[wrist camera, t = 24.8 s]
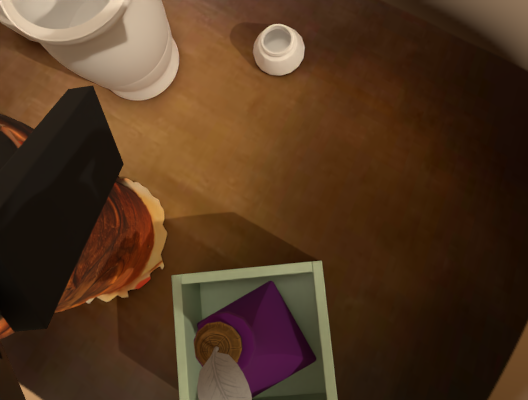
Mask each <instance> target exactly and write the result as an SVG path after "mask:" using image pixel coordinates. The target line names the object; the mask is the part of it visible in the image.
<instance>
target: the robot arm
mask: <svg viewBox="0 0 528 400" xmlns="http://www.w3.org/2000/svg"><path fill="white" fill-rule="evenodd" d="M122 166H123V161H122V159H121V156H120V153H119V151H118V148H117V146H116V143H115V141H114V138H113V136H112V133H111V130H110V128H109V125H108V123H107V120H106V118H105V115H104V113H103V110H102V108H101V105H100V102H99V100H98V97H97V95H96V92H95V90H94V87H93V86H87V87H80V88H73V89H68V90H67V91H66V93H65V94H64V95H63V96H62V97H61V99H60V100H59V101H58V102H57V103H56V104H55V106H54V107H53V108H52V109H51V110H50V112H49V113H48V114H47V115H46V116H45V117H44V119H43V120H42V121H41V122H40V123H39V125H38V126H37V127H36V128H35V129H34V130H33V132H32V133H31V134H30V135H29V136H28V138H27V139H26V140H25V141H24V142H23V143H22V145H21V146H20V147H19V148H18V149H17V151H16V152H15V153H14V154H13V155H12V156H11V158H10V159H9V160H8V161H7V162H6V164H5V165H4V166H3V167H2V168H1V169H0V314H1V315H2V317H3V318H4V319H5V321H6V322H7V323H8V325H9V326H10V327H11V329H12V330H13V331H14V332H15V331H25V330H36V329H47V327H48V325H49V323H50V320H51V318H52V316H53V314H54V312H55V310H56V308H57V305H58V303H59V301H60V299H61V297H62V295H63V293H64V290H65V288H66V286H67V284H68V282H69V280H70V278H71V275H72V273H73V271H74V269H75V267H76V265H77V263H78V260H79V258H80V256H81V254H82V252H83V250H84V248H85V245H86V243H87V241H88V239H89V237H90V235H91V233H92V231H93V228H94V226H95V224H96V222H97V220H98V218H99V216H100V213H101V211H102V209H103V207H104V205H105V203H106V201H107V198H108V196H109V194H110V192H111V190H112V188H113V186H114V183H115V181H116V179H117V177H118V175H119V173H120V171H121V168H122ZM0 400H26V399H25V397H24V394H23V392H22V390H21V387H20V385H19V383H18V380H17V378H16V376H15V373H14V371H13V369H12V366H11V364H10V362H9V359H8V357H7V355H6V352H5V350H4V348H3V345H2V343H1V341H0Z"/></svg>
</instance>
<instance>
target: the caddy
mask: <svg viewBox="0 0 528 400" xmlns="http://www.w3.org/2000/svg"><path fill="white" fill-rule="evenodd" d="M171 277H172V292H173V307H174V323H175V338H176V354H177V369H178V384H179V400H199V399H198V391H197V384H198V378H199V373H200V370H201V369H202V366H201V364H200V363H199V362H198V360H197V359H196V357H195V349H194V338H195V336H196V333H197V330H198V327H197V323H198V322H200V321H201V320H203V319H205V318H206V317H208V316H210V315H211V314H213V313H215V312H217V311H218V310H220V309H222V308H224V307H225V306H227V305H229V304H230V303H232V302H234V301H236V300H237V299H239V298H241V297H242V296H244V295H246V294H248V293H249V292H251V291H253V290H254V289H256V288H258V287H260V286H261V285H263V284H265V283H266V282H268V281H273V282H274V284H275V285H276V287H277V289H278V291H279V293H280V294H281V296H282V298H283V300H284V301H285V303H286V305H287V307H288V308H289V310H290V312H291V314H292V316H293V317H294V319H295V321H296V323H297V324H298V326H299V328H300V330H301V331H302V333H303V335H304V337H305V338H306V340H307V342H308V344H309V346H310V347H311V349H312V351H313V353H314V354H315V356H316V361H315V362H314V363H312V364H310V365H309V366H307V367H305V368H303V369H302V370H300V371H298V372H296V373H295V374H293V375H291V376H289V377H288V378H286V379H284V380H283V381H281V382H279V383H277V384H276V385H274V386H272V387H270V388H269V389H267V390H265V391H263V392H262V393H260V394H258V395H257V396H255V397H253V398H252V400H338V399H337V390H336V381H335V372H334V363H333V355H332V346H331V337H330V328H329V319H328V311H327V302H326V293H325V284H324V275H323V267H322V261H313V262H301V263H291V264H280V265H270V266H260V267H250V268H240V269H229V270H219V271H209V272H199V273H189V274H178V275H172V276H171Z"/></svg>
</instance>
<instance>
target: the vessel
mask: <svg viewBox="0 0 528 400" xmlns="http://www.w3.org/2000/svg"><path fill="white" fill-rule="evenodd" d="M33 130H34V129H32V128H31V127H29V126H27V125H26V124H24V123H22V122H19V121H17V120H15V119H12V118H10V117H7V116H4V115H1V114H0V169H1V168H2V167H3V166H4V165H5V164H6V162H7V161H8V160H9V159H10V158H11V156H12V155H13V154H14V153H15V152H16V151H17V149H18V148H19V147H20V146H21V145H22V143H23V142H24V141H25V140H26V139H27V138H28V136H29V135H30V134H31V133H32V132H33ZM163 222H164V210H163V208H162V207H161V205H160V202H159V200H158V199H156V198H155V197H153V196H152V195H151V193H150V192H149V190H148V189H147V188H145V187H143V186H142V185H141V184H140V183H138V182H134V183H133V182H132V181H131V180H129V179H128V178H125V179H119V176H118V177H117V179H116V181H115V183H114V186H113V188H112V190H111V192H110V194H109V196H108V198H107V201H106V203H105V205H104V207H103V209H102V211H101V213H100V216H99V218H98V220H97V222H96V224H95V226H94V228H93V231H92V233H91V235H90V237H89V239H88V241H87V243H86V245H85V248H84V250H83V252H82V254H81V256H80V258H79V260H78V263H77V265H76V267H75V269H74V271H73V273H72V275H71V278H70V280H69V282H68V284H67V286H66V288H65V290H64V293H63V295H62V297H61V299H60V301H59V303H58V305H57V308H56V310H55V312H60V311H64V310H67V309H70V308H73V307H76V306H79V305H81V304H83V303H85V302H87V303H88V304H89V303H90V302H91V301H92V300H93V299H94V298H95V297H97V298H99V299H101V300H103V301H105V302H108V301H110V300H112V299H113V298H114V297H116V296H117V295H118V296H120V297H121V298H125V297H128V291H129V290H132V289H139V288H141V287H142V286H143V285H144V284H146V283H147V282H148V281H149V280H150V279H151V277H150V273H151V272H152V271H153V270H154V269H156V268H158V267H161V269H163V268H164V264H163V260H162V257H161V252H162V250H163V247H164V244H165V241H166V237H167V231H166V230H165V228H164V226H163V225H162V224H163ZM15 332H16V331H15ZM12 333H14V331H13V330H12V329H11V327H10V326H9V325H8V323H7V322H6V321H5V319H4V318H3V317H2V315H1V314H0V339H2V338H4V337H7V336H9V335H11V334H12Z"/></svg>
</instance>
